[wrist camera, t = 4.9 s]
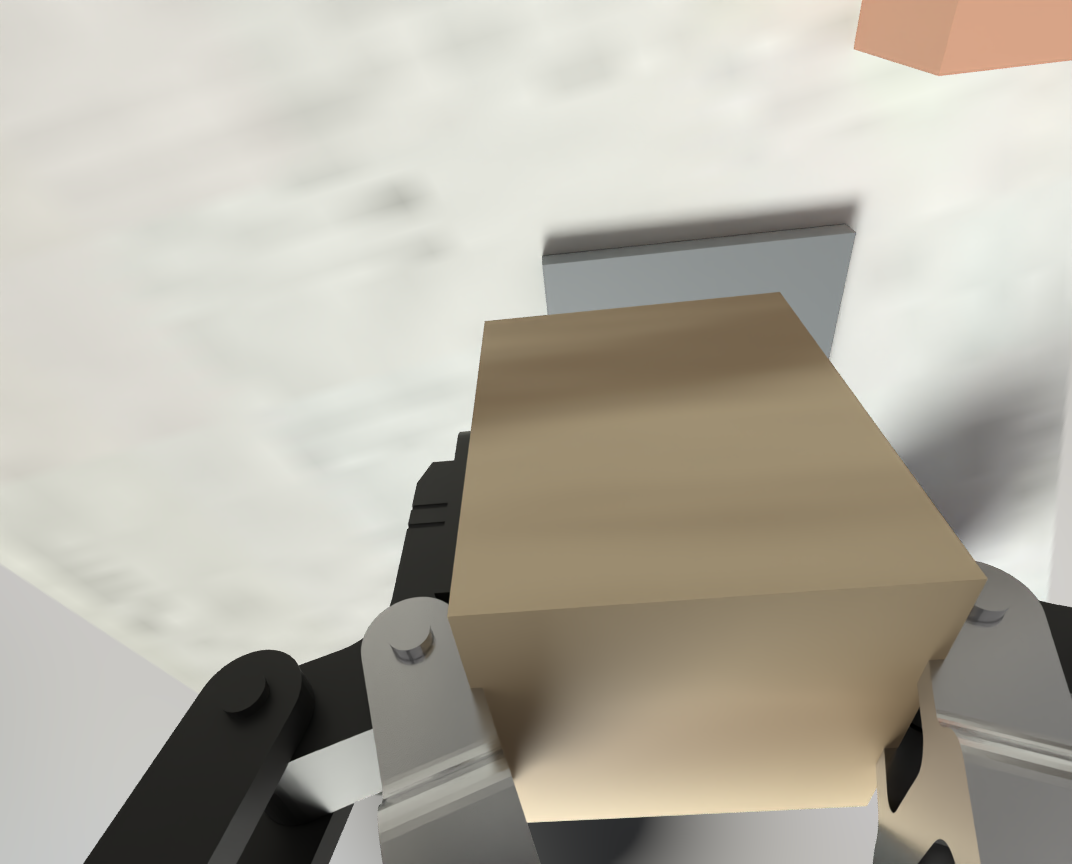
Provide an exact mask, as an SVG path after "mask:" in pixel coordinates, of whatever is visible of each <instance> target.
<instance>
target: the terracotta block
mask: <svg viewBox="0 0 1072 864" xmlns="http://www.w3.org/2000/svg"><path fill="white" fill-rule="evenodd" d="M854 49H855V50H858V51H861V52H864V53H868V54H871V55H874V56H877V57H880V58H883V59H887V60H890V61H893V62H896V63H899V64H902V65H906V66H909V67H912V68H915V69H918V70H922V71H925V72H928V73H931V74H934V75H937V76H943V75H951V74H959V73H968V72H976V71H985V70H993V69H1002V68H1010V67H1018V66H1027V65H1035V64H1044V63H1052V62H1061V61H1069V60H1072V0H862V5H861V10H860V16H859V21H858V27H857V32H856V38H855V44H854Z"/></svg>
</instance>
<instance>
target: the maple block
mask: <svg viewBox="0 0 1072 864" xmlns="http://www.w3.org/2000/svg"><path fill="white" fill-rule="evenodd" d="M987 580H988V578H987V577H986V576H985V574H984V573H983V572H982V570H981V569H980V567H979V566H978V565H977V563H976V562H975V560H974V559H973V558H972V556H971V555H970V554H969V552H968V551H967V549H966V548H965V547H964V545H963V544H962V543H961V541H960V540H959V538H958V537H957V536H956V534H955V533H954V532H953V530H952V529H951V527H950V526H949V525H948V523H947V522H946V520H945V519H944V518H943V516H942V515H941V514H940V512H939V511H938V509H937V508H936V507H935V505H934V504H933V503H932V501H931V500H930V498H929V497H928V496H927V494H926V493H925V492H924V490H923V489H922V487H921V486H920V485H919V483H918V482H917V480H916V479H915V478H914V476H913V475H912V474H911V472H910V471H909V469H908V468H907V467H906V465H905V464H904V463H903V461H902V460H901V458H900V457H899V456H898V454H897V453H896V452H895V450H894V449H893V447H892V446H891V445H890V443H889V442H888V440H887V439H886V438H885V436H884V435H883V434H882V432H881V431H880V429H879V428H878V427H877V425H876V424H875V423H874V421H873V420H872V418H871V417H870V416H869V414H868V413H867V412H866V410H865V409H864V407H863V406H862V405H861V403H860V402H859V400H858V399H857V398H856V396H855V395H854V394H853V392H852V391H851V389H850V388H849V387H848V385H847V384H846V383H845V381H844V380H843V378H842V377H841V376H840V374H839V373H838V372H837V370H836V369H835V367H834V366H833V365H832V363H831V362H830V360H829V359H828V358H827V356H826V355H825V354H824V352H823V351H822V349H821V348H820V347H819V345H818V344H817V343H816V341H815V340H814V338H813V337H812V336H811V334H810V333H809V332H808V330H807V329H806V327H805V326H804V325H803V323H802V322H801V320H800V319H799V318H798V316H797V315H796V314H795V312H794V311H793V309H792V308H791V307H790V305H789V304H788V303H787V301H786V300H785V298H784V297H783V296H782V294H781V293H780V292H774V293H764V294H754V295H744V296H734V297H724V298H714V299H704V300H694V301H684V302H673V303H663V304H653V305H643V306H633V307H623V308H613V309H603V310H593V311H583V312H573V313H563V314H553V315H543V316H533V317H523V318H513V319H503V320H493V321H485V324H484V332H483V340H482V348H481V356H480V363H479V371H478V379H477V387H476V395H475V403H474V410H473V418H472V426H471V434H470V442H469V449H468V457H467V465H466V473H465V481H464V489H463V496H462V504H461V512H460V520H459V528H458V535H457V543H456V551H455V559H454V567H453V575H452V582H451V590H450V598H449V606H448V614H447V618H448V621H449V624H450V627H451V630H452V633H453V636H454V639H455V642H456V646H457V649H458V652H459V655H460V658H461V661H462V664H463V667H464V670H465V673H466V676H467V679H468V683H469V686H470V688H482V689H483V692H484V695H485V698H486V701H487V704H488V707H489V710H490V713H491V716H492V719H493V722H494V726H495V729H496V732H497V735H498V738H499V741H500V744H501V747H502V750H503V752H504V755H505V757H506V760H507V763H508V766H509V769H510V772H511V775H512V778H513V781H514V784H515V787H516V791H517V794H518V797H519V800H520V803H521V806H522V809H523V812H524V815H525V818H526V821H527V822H547V821H565V820H566V821H567V820H588V819H609V818H628V817H629V818H630V817H649V816H669V815H670V816H671V815H691V814H712V813H733V812H753V811H773V810H793V809H794V810H795V809H813V808H814V809H816V808H833V807H834V808H835V807H857V806H867V805H868V803H869V801H870V799H871V797H872V795H873V794H874V792H875V790H876V788H877V779H876V763H877V761H878V759H879V757H880V755H881V753H882V751H883V749H884V748H898V747H899V745H900V743H901V741H902V739H903V737H904V735H905V734H906V732H907V730H908V728H909V726H910V724H911V722H912V720H913V719H914V717H915V715H916V713H917V711H918V709H919V707H920V704H919V696H918V687H917V682H918V680H919V678H920V676H921V674H922V672H923V670H924V668H925V666H926V664H927V662H928V661H929V660H938V659H945V658H946V657H947V655H948V653H949V651H950V649H951V647H952V645H953V643H954V642H955V640H956V638H957V636H958V634H959V632H960V630H961V628H962V626H963V625H964V623H965V621H966V619H967V617H968V615H969V613H970V611H971V610H972V608H973V606H974V604H975V602H976V600H977V598H978V596H979V595H980V593H981V591H982V589H983V587H984V585H985V583H986V581H987Z"/></svg>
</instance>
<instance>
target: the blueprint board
mask: <svg viewBox="0 0 1072 864" xmlns="http://www.w3.org/2000/svg"><path fill="white" fill-rule="evenodd" d="M855 235H856V232H855V231H854V230H853V229H851V228H850V227H849V226H848V225H847V224H841V225H832V226H822V227H813V228H803V229H794V230H784V231H775V232H765V233H756V234H746V235H737V236H727V237H718V238H708V239H699V240H689V241H680V242H671V243H661V244H652V245H642V246H633V247H623V248H614V249H604V250H595V251H585V252H576V253H566V254H557V255H547V256H542V265H543V275H544V284H545V294H546V303H547V312H548V315H553V314H563V313H573V312H583V311H593V310H603V309H613V308H623V307H633V306H643V305H653V304H663V303H673V302H684V301H694V300H704V299H714V298H724V297H734V296H744V295H754V294H764V293H774V292H780V293H781V294H782V296H783V297H784V298H785V300H786V301H787V303H788V304H789V305H790V307H791V308H792V309H793V311H794V312H795V314H796V315H797V316H798V318H799V319H800V320H801V322H802V323H803V325H804V326H805V327H806V329H807V330H808V332H809V333H810V334H811V336H812V337H813V338H814V340H815V341H816V343H817V344H818V345H819V347H820V348H821V349H822V351H823V352H824V354H825V355H826V356H827V358H828V359H829V355H830V351H831V346H832V341H833V337H834V332H835V327H836V323H837V318H838V314H839V309H840V304H841V300H842V295H843V290H844V286H845V281H846V276H847V272H848V267H849V262H850V258H851V253H852V248H853V244H854V239H855Z"/></svg>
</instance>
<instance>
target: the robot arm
mask: <svg viewBox="0 0 1072 864" xmlns="http://www.w3.org/2000/svg"><path fill="white" fill-rule="evenodd" d="M470 434H471V431H465V432H460V433H459V435H458V439H457V446H456V452H455V459H454V461H442V462H433V463H432V464H431V465H430V467H429V468H428V469H427V471H426V472H425V473H424V475H423V476H422V477H421V478H420V480H419V481H418V482H417V486H416V490H415V495H414V500H413V504H412V507H413V510H411V514H410V518H409V523H408V526H409V528H408V529H407V532H406V537H405V541H404V546H403V551H402V555H401V560H400V565H399V569H398V574H397V578H396V583H395V588H394V592H393V597H392V601H391V604H390V607H388V608H387V609H386V610H384V611H383V612H382V613H380V614H379V615H378V616H377V617H376V618H375V619H374V621H373V622H372V623H371V625H370V626H369V627H368V629H367V631H366V633H365V635H364V638H363V639H361V640H360V641H358V642H357V643H355V644H353V645H351V646H349V647H347V648H345V649H342V650H340V651H337V652H334V653H331V654H329V655H326V656H323V657H321V658H318V659H315V660H312V661H310V662H307V663H304V664H301V665H299V666H298V664H297V663H296V661H295V660H294V659H293V658H292V657H291V656H290V655H288V654H286V653H284V652H281V651H277V650H260V651H256V652H252V653H249V654H246V655H244V656H241V657H239V658H237V659H235V660H233V661H232V662H230V663H229V664H227V665H226V666H224V667H223V668H222V669H221V670H220V671H218V672H217V673H216V674H215V675H214V676H213V677H212V678H211V679H210V680H209V681H208V683H207V684H206V685H205V687H204V688H203V689H202V691H201V692H200V694H199V695H198V697H197V698H196V699H195V701H194V702H193V704H192V706H191V707H190V708H189V710H188V711H187V713H186V714H185V716H184V717H183V718H182V720H181V722H180V723H179V724H178V726H177V727H176V729H175V730H174V732H173V733H172V735H171V736H170V738H169V739H168V741H167V742H166V744H165V745H164V746H163V748H162V749H161V751H160V752H159V754H158V755H157V757H156V758H155V759H154V761H153V763H152V764H151V765H150V767H149V768H148V770H147V771H146V773H145V774H144V776H143V777H142V779H141V780H140V782H139V783H138V784H137V786H136V787H135V789H134V790H133V792H132V793H131V795H130V796H129V798H128V799H127V800H126V802H125V804H124V805H123V806H122V808H121V809H120V811H119V812H118V814H117V815H116V817H115V818H114V820H113V821H112V822H111V824H110V826H109V827H108V828H107V830H106V831H105V833H104V834H103V836H102V837H101V838H100V840H99V841H98V843H97V844H96V846H95V847H94V849H93V850H92V852H91V853H90V855H89V856H88V858H87V859H86V860H85V862H84V864H329V862H330V859H331V857H332V855H333V852H334V850H335V848H336V845H337V843H338V840H339V838H340V836H341V833H342V831H343V829H344V826H345V824H346V821H347V819H348V817H349V814H350V812H351V810H352V807H353V805H354V803H355V802H358V801H360V800H362V799H365V798H367V797H369V796H372V795H374V794H377V793H379V792H381V791H382V792H383V801H382V804H380V805H379V807H378V832H379V840H380V848H381V855H382V861H383V864H540V861H539V858H538V855H537V852H536V849H535V846H534V843H533V839H532V836H531V834H530V831H529V827H528V824H527V821H526V818H525V815H524V812H523V809H522V806H521V803H520V800H519V797H518V794H517V791H516V787H515V784H514V781H513V778H512V775H511V772H510V769H509V766H508V763H507V760H506V757H505V755H504V752H503V750H502V747H501V744H500V741H499V738H498V735H497V732H496V729H495V726H494V722H493V719H492V716H491V713H490V710H489V707H488V704H487V701H486V698H485V695H484V692H483V689H482V688H470V686H469V683H468V679H467V676H466V673H465V670H464V667H463V664H462V661H461V658H460V655H459V652H458V649H457V646H456V642H455V639H454V636H453V633H452V630H451V627H450V624H449V621H448V618H447V614H448V606H449V598H450V590H451V582H452V575H453V567H454V559H455V551H456V543H457V535H458V528H459V520H460V512H461V504H462V496H463V489H464V481H465V473H466V465H467V457H468V449H469V442H470ZM975 562H976V563H977V565H978V566H979V567H980V569H981V570H982V572H983V573H984V574H985V576H986V577H987V578H988V580H987V581H986V583H985V585H984V587H983V589H982V591H981V593H980V595H979V596H978V598H977V600H976V602H975V604H974V606H973V608H972V610H971V611H970V613H969V615H968V617H967V619H966V621H965V623H964V625H963V626H962V628H961V630H960V632H959V634H958V636H957V638H956V640H955V642H954V643H953V645H952V647H951V649H950V651H949V653H948V655H947V657H946V658H945V659H938V660H929V661H928V662H927V664H926V666H925V668H924V670H923V672H922V674H921V676H920V678H919V680H918V682H917V687H918V696H919V704H920V707H919V709H918V711H917V713H916V715H915V717H914V719H913V720H912V722H911V724H910V726H909V728H908V730H907V732H906V734H905V735H904V737H903V739H902V741H901V743H900V745H899V747H898V748H884V749H883V751H882V753H881V755H880V757H879V759H878V761H877V763H876V779H877V795H878V814H879V815H878V819H879V820H878V833H877V839H876V844H875V849H874V856H873V864H1072V607H1067V606H1062V605H1056V604H1051V603H1047V602H1042V601H1039V600H1038V599H1037V598H1036V596H1035V595H1034V594H1033V593H1032V592H1031V591H1030V590H1029V589H1028V588H1027V587H1026V586H1025V585H1024V584H1023V583H1021V582H1020V581H1019V580H1017V579H1016V578H1014V577H1013V576H1011V575H1010V574H1008V573H1006V572H1004V571H1002V570H1000V569H998V568H996V567H993V566H991V565H988V564H985V563H982V562H977V561H975Z"/></svg>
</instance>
